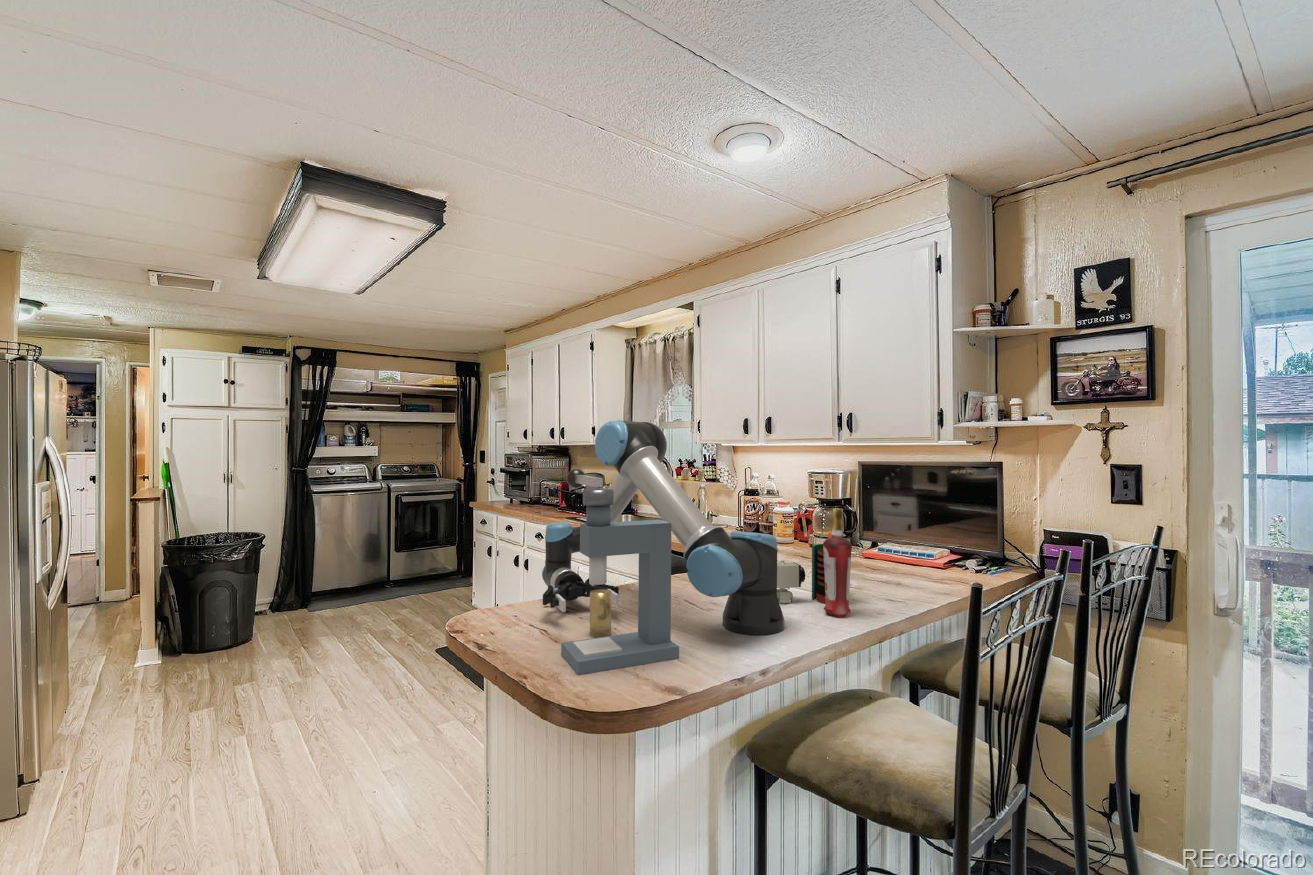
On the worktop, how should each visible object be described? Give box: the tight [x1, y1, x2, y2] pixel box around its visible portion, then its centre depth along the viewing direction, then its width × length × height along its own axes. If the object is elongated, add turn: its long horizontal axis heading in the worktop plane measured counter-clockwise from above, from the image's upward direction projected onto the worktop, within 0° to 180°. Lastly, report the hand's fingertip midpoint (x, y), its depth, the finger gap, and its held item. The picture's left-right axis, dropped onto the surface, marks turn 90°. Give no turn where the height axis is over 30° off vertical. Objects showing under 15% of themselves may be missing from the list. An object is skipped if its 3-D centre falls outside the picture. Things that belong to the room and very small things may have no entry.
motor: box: [811, 529, 832, 605], centre depth 169 cm, size 10×9×20 cm
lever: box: [566, 468, 614, 506], centre depth 128 cm, size 6×21×7 cm, turn 25°
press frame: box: [560, 505, 680, 676], centre depth 123 cm, size 22×12×32 cm, turn 115°
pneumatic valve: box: [777, 559, 806, 605], centre depth 167 cm, size 6×12×12 cm, turn 100°
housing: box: [589, 589, 612, 638], centre depth 137 cm, size 5×5×10 cm
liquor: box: [822, 508, 853, 618], centre depth 155 cm, size 7×7×28 cm
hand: (591, 603), depth 143 cm, fingers open, 13 cm apart
